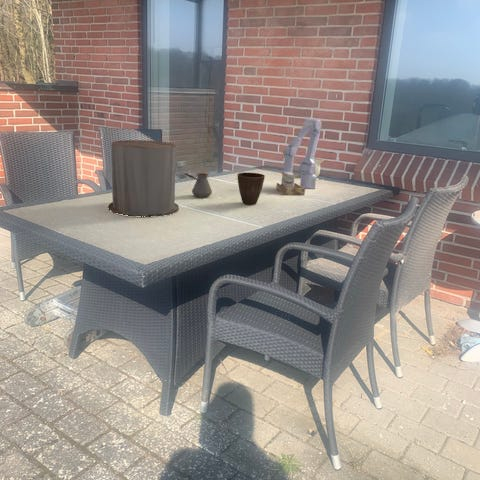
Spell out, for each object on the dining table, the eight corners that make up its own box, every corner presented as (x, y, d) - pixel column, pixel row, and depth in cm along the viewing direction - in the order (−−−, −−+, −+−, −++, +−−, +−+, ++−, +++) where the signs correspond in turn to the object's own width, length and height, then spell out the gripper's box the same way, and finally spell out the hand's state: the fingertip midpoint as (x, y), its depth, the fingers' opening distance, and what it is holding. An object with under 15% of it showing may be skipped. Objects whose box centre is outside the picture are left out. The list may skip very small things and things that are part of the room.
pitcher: (301, 175, 376) (303, 156, 371) (324, 178, 368) (326, 159, 364) (296, 177, 366) (298, 158, 362) (319, 180, 359) (321, 161, 355)
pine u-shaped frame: (294, 189, 323) (295, 183, 321) (304, 194, 307) (304, 188, 306) (276, 189, 319) (276, 183, 318) (285, 194, 304) (285, 188, 303)
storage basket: (149, 221, 231) (149, 151, 221) (93, 209, 247) (90, 142, 237) (192, 207, 260) (194, 145, 251) (139, 197, 276) (139, 138, 266)
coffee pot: (200, 193, 295) (201, 168, 290) (215, 196, 289) (216, 170, 284) (175, 198, 278) (176, 171, 274) (191, 202, 272) (192, 175, 267)
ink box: (293, 193, 311) (295, 174, 307) (285, 193, 309) (287, 174, 305) (287, 189, 318) (289, 171, 314) (280, 189, 317) (282, 171, 313)
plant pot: (257, 208, 268) (259, 178, 263) (231, 204, 272) (233, 175, 268) (266, 202, 281) (268, 174, 276) (241, 199, 286) (242, 171, 281)
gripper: (278, 164, 320) (276, 185, 324) (286, 167, 307) (284, 189, 311) (289, 164, 322) (287, 185, 326) (297, 168, 309) (295, 189, 313)
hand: (286, 187), depth 319 cm, fingers closed, pressing on ink box
